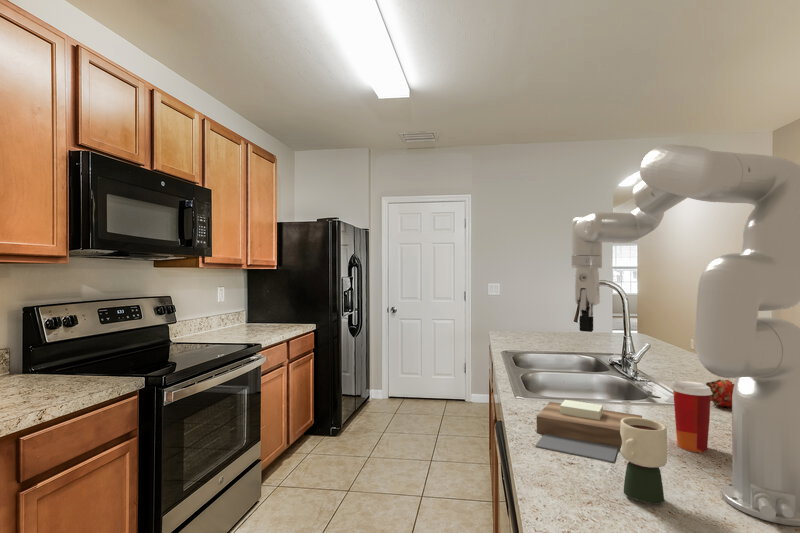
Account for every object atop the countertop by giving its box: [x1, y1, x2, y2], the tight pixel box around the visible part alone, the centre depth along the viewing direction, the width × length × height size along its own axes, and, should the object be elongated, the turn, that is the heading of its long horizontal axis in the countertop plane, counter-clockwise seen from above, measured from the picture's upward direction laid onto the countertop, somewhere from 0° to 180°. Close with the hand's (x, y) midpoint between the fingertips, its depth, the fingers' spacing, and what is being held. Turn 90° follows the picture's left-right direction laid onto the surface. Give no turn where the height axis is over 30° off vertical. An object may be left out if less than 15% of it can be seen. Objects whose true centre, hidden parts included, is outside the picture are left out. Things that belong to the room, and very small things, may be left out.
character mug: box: [619, 417, 668, 505], centre depth 77 cm, size 11×7×13 cm, turn 125°
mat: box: [534, 433, 619, 464], centre depth 100 cm, size 9×16×1 cm, turn 59°
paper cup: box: [670, 380, 713, 453], centre depth 100 cm, size 8×8×14 cm
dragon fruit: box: [705, 379, 735, 409], centre depth 130 cm, size 8×8×12 cm
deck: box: [536, 401, 643, 449], centre depth 109 cm, size 14×22×4 cm, turn 59°
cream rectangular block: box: [560, 399, 604, 420], centre depth 111 cm, size 6×9×2 cm, turn 59°
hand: (586, 331), depth 119 cm, fingers closed
